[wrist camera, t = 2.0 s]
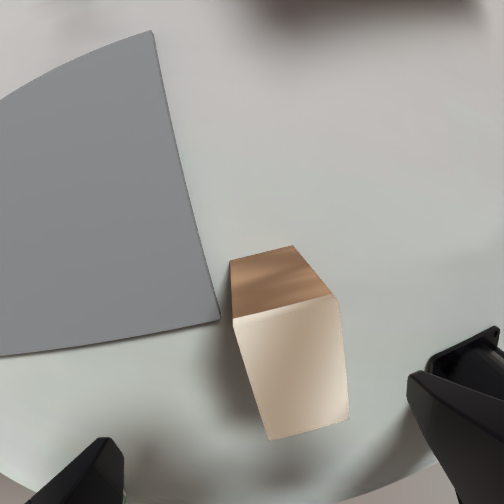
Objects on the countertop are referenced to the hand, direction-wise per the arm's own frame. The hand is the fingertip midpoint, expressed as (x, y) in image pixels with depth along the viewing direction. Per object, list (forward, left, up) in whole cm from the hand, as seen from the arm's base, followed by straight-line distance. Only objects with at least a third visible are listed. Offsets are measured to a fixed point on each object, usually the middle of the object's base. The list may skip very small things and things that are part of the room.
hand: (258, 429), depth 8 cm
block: (-1, 0, -8) cm, 8 cm away
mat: (+9, -7, -8) cm, 14 cm away
